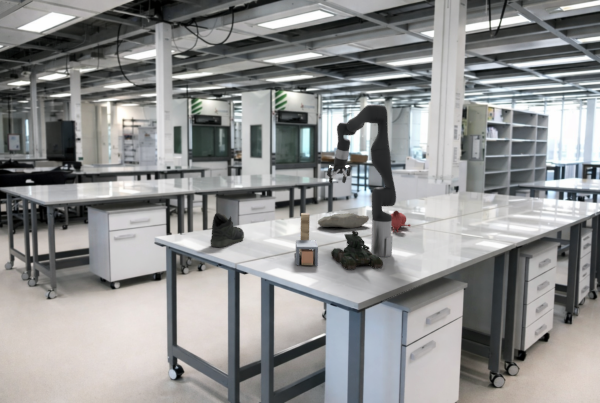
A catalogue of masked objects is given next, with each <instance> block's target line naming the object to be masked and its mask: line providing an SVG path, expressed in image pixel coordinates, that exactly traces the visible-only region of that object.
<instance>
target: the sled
mask: <svg viewBox="0 0 600 403" xmlns="http://www.w3.org/2000/svg"><path fill="white" fill-rule="evenodd" d="M300 240H310V213H309V212H301V213H300ZM299 253H300V258H299V259H301V249H300V251H299ZM300 263H301V266H314V262H313V263H302V262H301V261H300Z"/></svg>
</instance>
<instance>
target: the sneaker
mask: <svg viewBox="0 0 600 403" xmlns="http://www.w3.org/2000/svg"><path fill="white" fill-rule="evenodd" d="M211 224H212V227H211V239H210V247H213V248H226V247H228V246H231V245H234V244H237V243H239V242H241V241H243V240H244V238H245V232H244V231H243V229H242V227H239V226H234V222H233V221H232V216H230V217H229V218H228V217H226V215H224V214H222V213H219V212H217V213H215V214H214V216H213V220H212V223H211ZM236 242H237V243H236ZM230 244H231V245H230ZM225 246H226V247H225Z"/></svg>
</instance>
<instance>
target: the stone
mask: <svg viewBox="0 0 600 403" xmlns="http://www.w3.org/2000/svg"><path fill="white" fill-rule="evenodd" d="M369 219H370V218H369V216H368V215H359V214H357V213H351V212H349V213H347V212H346V213H335V214H332V215H329V216H324V217H322V218H320V219H318V221H317V224H318V225H319V226H320V227H322V228H329V227H330V228H333V227H335V228H338V227H339V228H345V229H346V228H347V229H354V228H359V227H361V226H363V225H365V224H366V223H368V221H369Z"/></svg>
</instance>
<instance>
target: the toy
mask: <svg viewBox="0 0 600 403" xmlns="http://www.w3.org/2000/svg"><path fill="white" fill-rule="evenodd" d="M390 215H391V216H392V221H391V228H392V233H394V232H395V230H396V233H399V229H400V228H402V227H404V226H406V227H411V224H410V223H409V224H406V223H407V216H406V215H405V214H403V213H402V212H399V210H394V211H393V212H392V213H390Z"/></svg>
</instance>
